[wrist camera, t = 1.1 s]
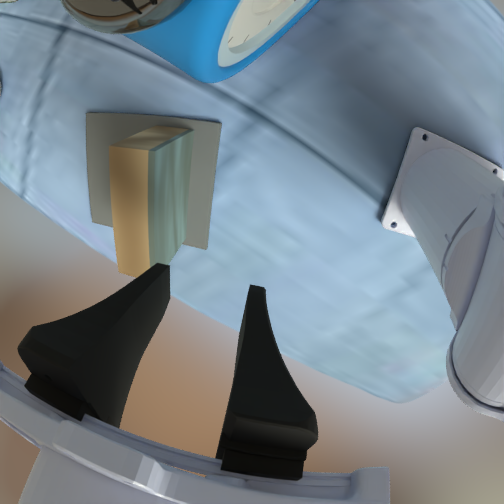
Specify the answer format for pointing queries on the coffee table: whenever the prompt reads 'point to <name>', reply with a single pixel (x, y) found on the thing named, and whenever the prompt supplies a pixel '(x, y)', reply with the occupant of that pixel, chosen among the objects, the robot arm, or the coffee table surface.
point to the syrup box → (7, 1)
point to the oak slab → (150, 196)
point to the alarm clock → (195, 29)
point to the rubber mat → (125, 125)
